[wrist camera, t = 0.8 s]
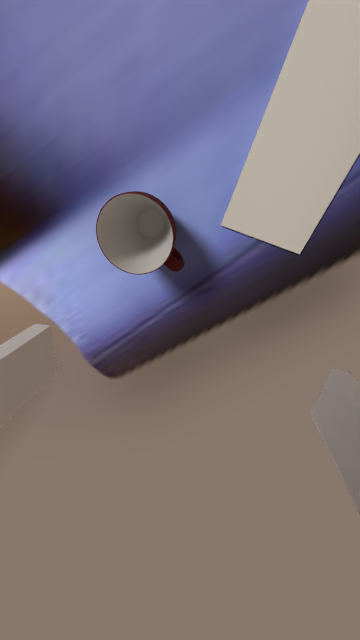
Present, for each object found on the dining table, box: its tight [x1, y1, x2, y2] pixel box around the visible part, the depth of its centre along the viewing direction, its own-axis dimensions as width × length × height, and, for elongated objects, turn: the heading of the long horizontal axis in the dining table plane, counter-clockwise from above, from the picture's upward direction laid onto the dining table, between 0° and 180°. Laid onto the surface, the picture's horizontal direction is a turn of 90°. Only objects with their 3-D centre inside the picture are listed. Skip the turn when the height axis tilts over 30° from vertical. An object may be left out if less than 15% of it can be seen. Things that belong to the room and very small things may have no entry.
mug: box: [96, 191, 184, 274], centre depth 28 cm, size 11×8×10 cm
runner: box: [221, 0, 360, 254], centre depth 25 cm, size 30×12×1 cm, turn 162°
